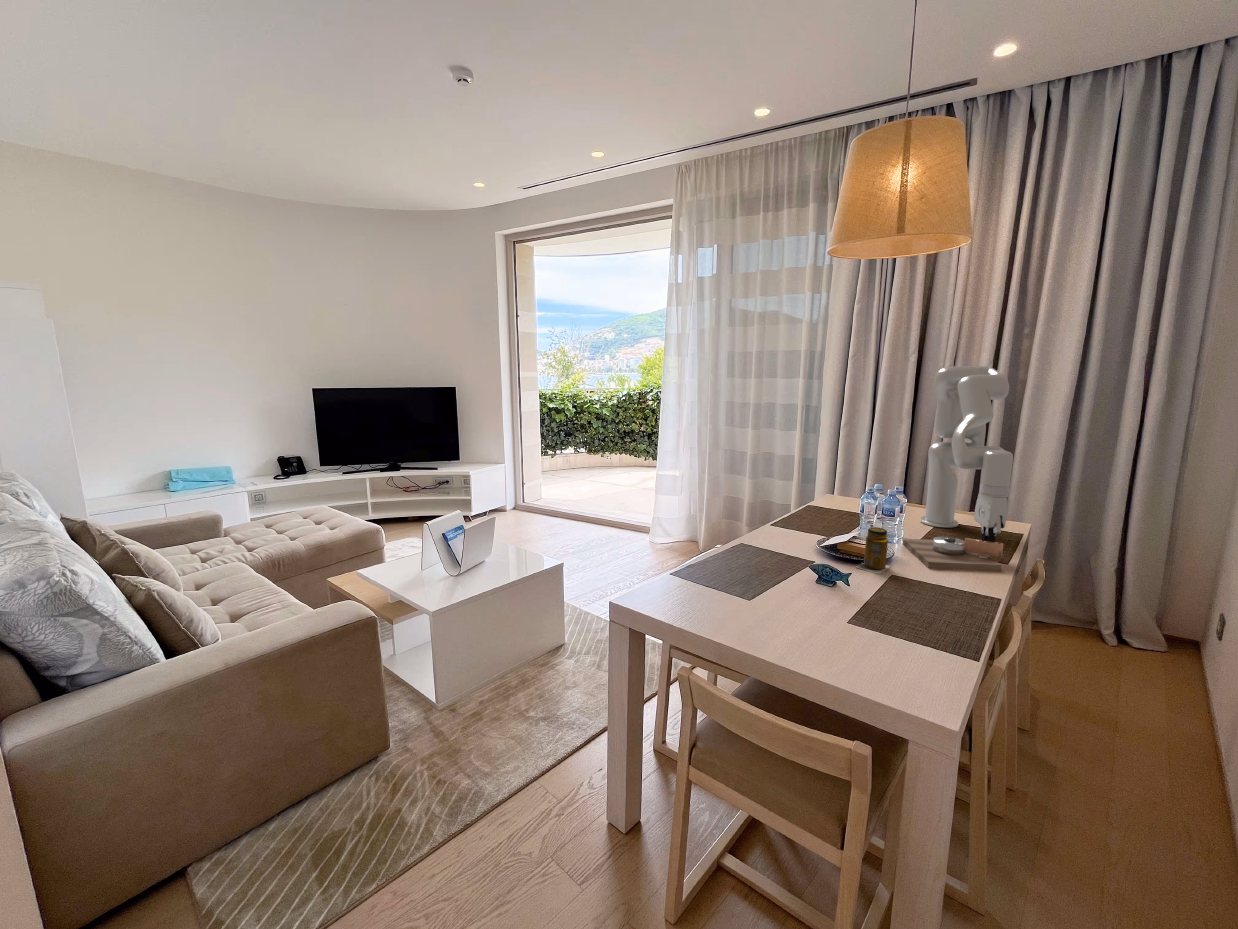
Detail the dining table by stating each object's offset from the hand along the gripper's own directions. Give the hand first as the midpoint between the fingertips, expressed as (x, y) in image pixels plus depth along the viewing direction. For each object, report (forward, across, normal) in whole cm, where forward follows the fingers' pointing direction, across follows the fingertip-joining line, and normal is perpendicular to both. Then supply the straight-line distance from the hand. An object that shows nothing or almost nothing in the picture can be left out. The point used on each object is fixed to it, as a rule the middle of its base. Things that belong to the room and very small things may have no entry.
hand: (987, 546), depth 168 cm
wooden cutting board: (+4, 0, -11) cm, 12 cm away
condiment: (+4, +12, -37) cm, 39 cm away
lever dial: (+2, +2, -7) cm, 7 cm away
